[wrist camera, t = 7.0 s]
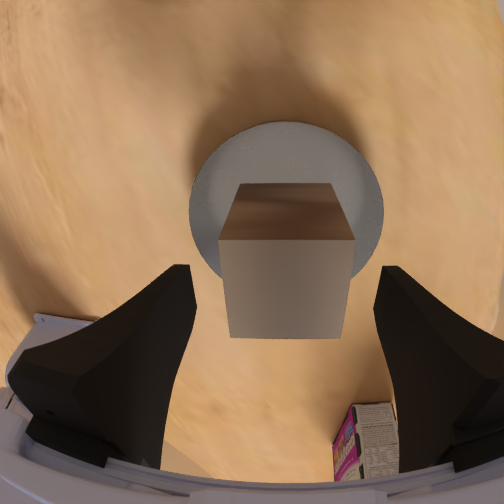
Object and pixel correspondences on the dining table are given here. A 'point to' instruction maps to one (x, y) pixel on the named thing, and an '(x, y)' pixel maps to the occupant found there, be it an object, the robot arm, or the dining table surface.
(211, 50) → the dining table surface
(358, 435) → the candy bar box
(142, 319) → the robot arm
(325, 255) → the walnut block
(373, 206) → the biscuit tin
